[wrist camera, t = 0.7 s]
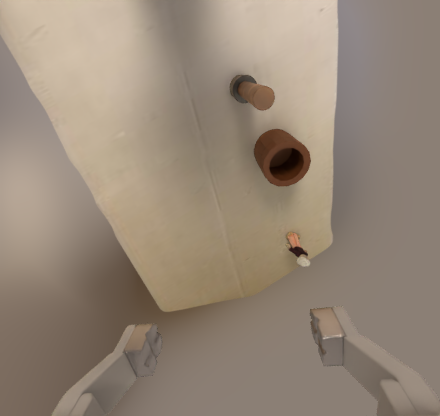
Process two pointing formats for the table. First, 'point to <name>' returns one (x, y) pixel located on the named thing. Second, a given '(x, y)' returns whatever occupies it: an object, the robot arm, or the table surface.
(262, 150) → the cylindrical container
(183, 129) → the table surface
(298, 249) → the grandmother figurine
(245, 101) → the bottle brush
